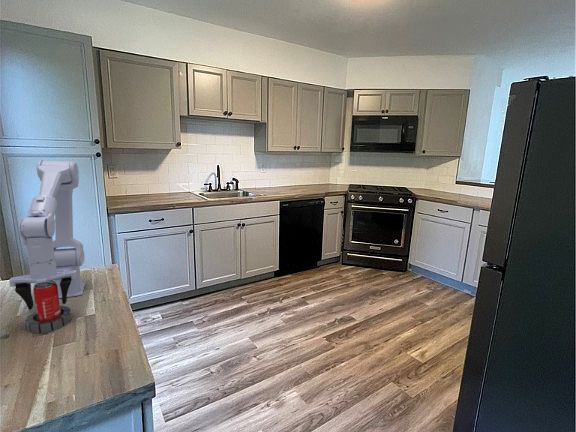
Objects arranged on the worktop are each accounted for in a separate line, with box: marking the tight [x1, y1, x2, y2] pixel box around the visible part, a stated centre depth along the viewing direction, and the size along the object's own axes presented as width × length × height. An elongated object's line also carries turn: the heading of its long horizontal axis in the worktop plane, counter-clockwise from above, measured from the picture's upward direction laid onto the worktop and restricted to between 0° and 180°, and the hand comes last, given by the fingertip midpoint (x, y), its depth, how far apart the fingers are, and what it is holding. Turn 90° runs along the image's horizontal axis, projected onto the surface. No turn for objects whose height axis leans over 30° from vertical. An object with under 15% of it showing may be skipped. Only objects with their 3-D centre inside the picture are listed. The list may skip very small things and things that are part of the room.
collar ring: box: [25, 305, 72, 334], centre depth 89 cm, size 10×10×2 cm
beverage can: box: [32, 280, 61, 322], centre depth 88 cm, size 5×5×12 cm
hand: (48, 305), depth 89 cm, fingers open, 7 cm apart
